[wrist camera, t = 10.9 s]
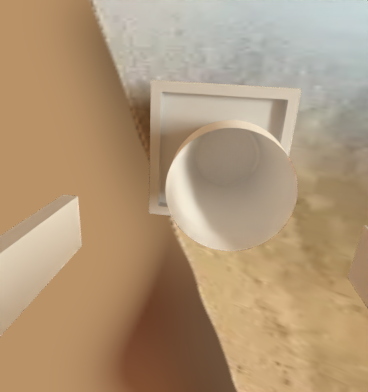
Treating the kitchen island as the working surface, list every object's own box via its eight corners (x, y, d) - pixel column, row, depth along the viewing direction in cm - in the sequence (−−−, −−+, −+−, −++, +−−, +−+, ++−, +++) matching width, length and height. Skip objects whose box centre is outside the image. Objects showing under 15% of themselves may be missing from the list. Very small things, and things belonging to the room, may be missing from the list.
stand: (168, 82, 36) (150, 79, 27) (281, 89, 35) (301, 88, 26) (165, 186, 41) (148, 213, 32) (263, 195, 40) (275, 226, 31)
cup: (174, 179, 32) (147, 228, 21) (200, 98, 28) (186, 104, 17) (250, 206, 32) (265, 270, 21) (286, 128, 28) (327, 153, 17)
